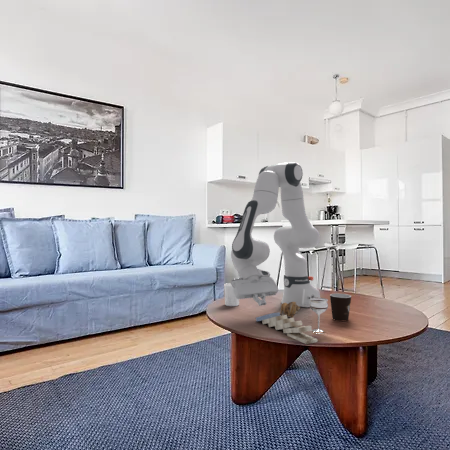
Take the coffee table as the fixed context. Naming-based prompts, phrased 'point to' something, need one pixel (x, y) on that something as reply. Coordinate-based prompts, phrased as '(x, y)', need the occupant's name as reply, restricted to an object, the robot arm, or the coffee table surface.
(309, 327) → the domino
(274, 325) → the domino
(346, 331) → the coffee table surface
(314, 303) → the wineglass
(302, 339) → the domino
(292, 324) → the domino
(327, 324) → the coffee table surface
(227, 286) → the white cup
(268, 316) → the domino
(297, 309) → the lion figurine
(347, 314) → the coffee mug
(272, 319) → the domino
